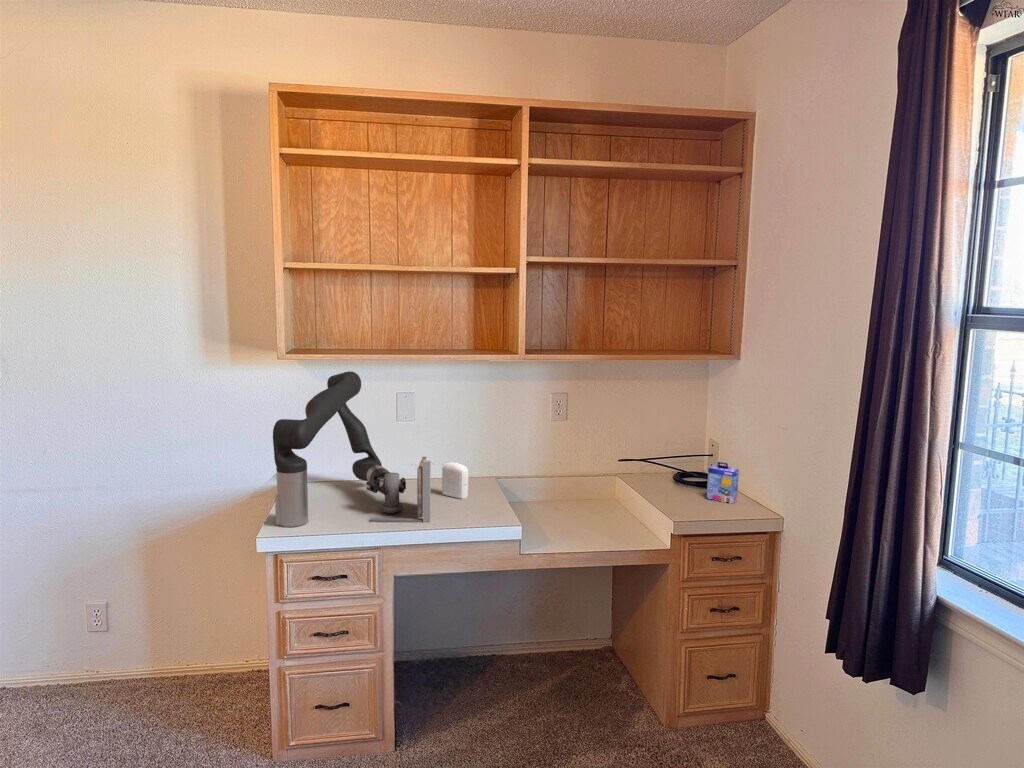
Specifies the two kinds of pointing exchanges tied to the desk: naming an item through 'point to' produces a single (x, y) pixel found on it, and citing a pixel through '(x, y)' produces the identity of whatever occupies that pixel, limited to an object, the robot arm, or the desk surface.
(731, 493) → the ink cartridge box
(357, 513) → the desk surface
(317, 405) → the robot arm
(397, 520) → the wall frame
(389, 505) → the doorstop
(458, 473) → the photo printer
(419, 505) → the door
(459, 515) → the desk surface
